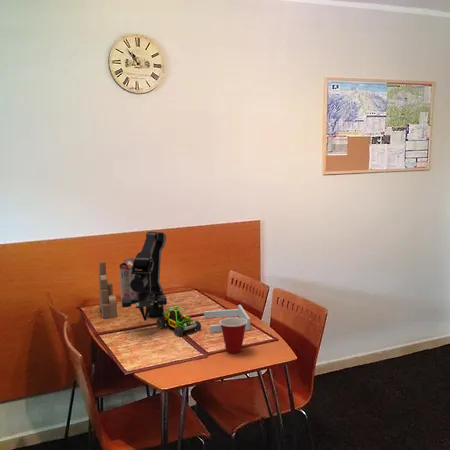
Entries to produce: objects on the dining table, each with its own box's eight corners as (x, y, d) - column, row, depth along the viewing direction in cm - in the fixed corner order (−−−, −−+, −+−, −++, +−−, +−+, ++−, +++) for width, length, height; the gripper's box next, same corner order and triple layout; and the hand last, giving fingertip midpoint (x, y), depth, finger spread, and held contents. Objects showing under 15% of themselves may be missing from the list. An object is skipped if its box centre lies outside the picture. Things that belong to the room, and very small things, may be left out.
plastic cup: (239, 342, 192) (239, 314, 190) (252, 352, 183) (252, 322, 181) (214, 347, 187) (214, 318, 185) (227, 358, 178) (227, 327, 176)
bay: (210, 332, 203) (210, 321, 202) (204, 317, 221) (204, 307, 221) (250, 330, 206) (250, 318, 205) (240, 315, 224) (240, 304, 224)
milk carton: (139, 298, 250) (137, 257, 246) (130, 302, 244) (128, 260, 241) (129, 296, 253) (128, 256, 250) (120, 300, 248) (119, 258, 244)
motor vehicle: (180, 338, 198) (179, 313, 196) (153, 325, 212) (153, 302, 211) (201, 331, 206) (201, 307, 204) (174, 319, 220) (174, 297, 218)
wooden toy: (118, 317, 223) (115, 264, 219) (103, 319, 220) (100, 266, 216) (112, 307, 237) (110, 257, 233) (99, 308, 234) (96, 258, 231)
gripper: (120, 291, 195) (122, 328, 197) (167, 289, 198) (168, 325, 200) (121, 284, 206) (123, 319, 208) (165, 282, 209) (166, 316, 211)
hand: (145, 320), depth 207 cm, fingers closed
